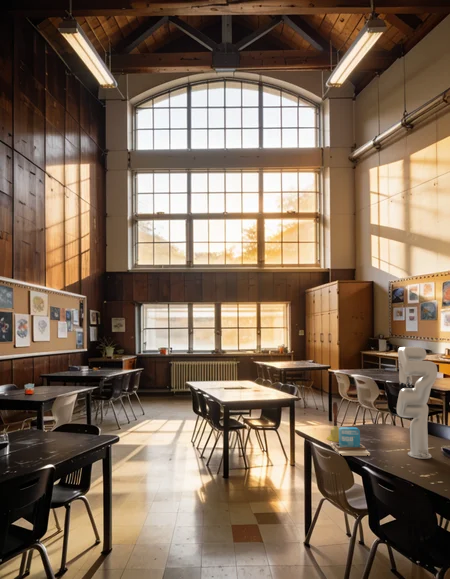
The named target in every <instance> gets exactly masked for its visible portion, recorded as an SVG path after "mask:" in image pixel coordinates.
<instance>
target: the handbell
mask: <svg viewBox="0 0 450 579" xmlns="http://www.w3.org/2000/svg"><path fill="white" fill-rule="evenodd" d="M338 412H339V409H338V402H337V401H333V403H332V413H333V427H331V428H330V434H329V435H328V436H327V437H326V440H327V441H329V442H332V443H333V442H334V443H339V428H340V427H338Z"/></svg>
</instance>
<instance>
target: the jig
mask: <svg viewBox="0 0 450 579" xmlns="http://www.w3.org/2000/svg"><path fill="white" fill-rule="evenodd" d="M329 446H330V447H331V448H332V450H334V451H335V453H337V454H338V453H339V454H341V455H342V457H343V456H348V457H349V456H351V457H352V456H355V457H356V456H360V457H361V456H365V457H366V456H367V455H368V456H371V452H369V451H368V450H367V449H366V447H365V445H363V444H362V443H360V447H340V446H339V442H334V443H333V442H331V443H330V444H329ZM339 454H338V455H339Z"/></svg>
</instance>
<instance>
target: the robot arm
mask: <svg viewBox="0 0 450 579" xmlns="http://www.w3.org/2000/svg"><path fill="white" fill-rule="evenodd" d="M397 356H398V360H397V361H398V368H399V369H398V370H399V371H398V381H399V383H398V384H399V393H398V395H397V396H398V398H397V403H396V414H397V415H398V416H399V417H401V418H411V419H412V418H413V419H412V420H411V421H410V424H409V439H410V442H409V443H410V445H409V446H410V451H408V452H407V455H408V456H409V457H411V458H414V459H415V458H416V459H421V460H425V459H431V458H432V454H431V453H429V436H428V415H429V406H428V404H427V403H428V402H429V398H430V395H431V389H432V387H433V385H434V384H435V382H436V380H437V377H438V366H437V364H436V363H435V362H433V361H430V360H425V359H426V358H427V351H426V350H425V349H424V348H423V347H421V346H401V347H400V346H399V348H398V349H397ZM413 376H421V377H419V378H418V379H416V381H415V383H414V387H412V384H413Z"/></svg>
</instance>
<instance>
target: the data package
mask: <svg viewBox="0 0 450 579" xmlns="http://www.w3.org/2000/svg"><path fill="white" fill-rule="evenodd" d="M338 428H339V442H338V443H339V446H340V447H360V444H361V431H360V430H361V429H359V428H358V427H356V426H354V427H353V426H351V427H348V426H345V427H344V426H343V427H342V426H340V427H338Z"/></svg>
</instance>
